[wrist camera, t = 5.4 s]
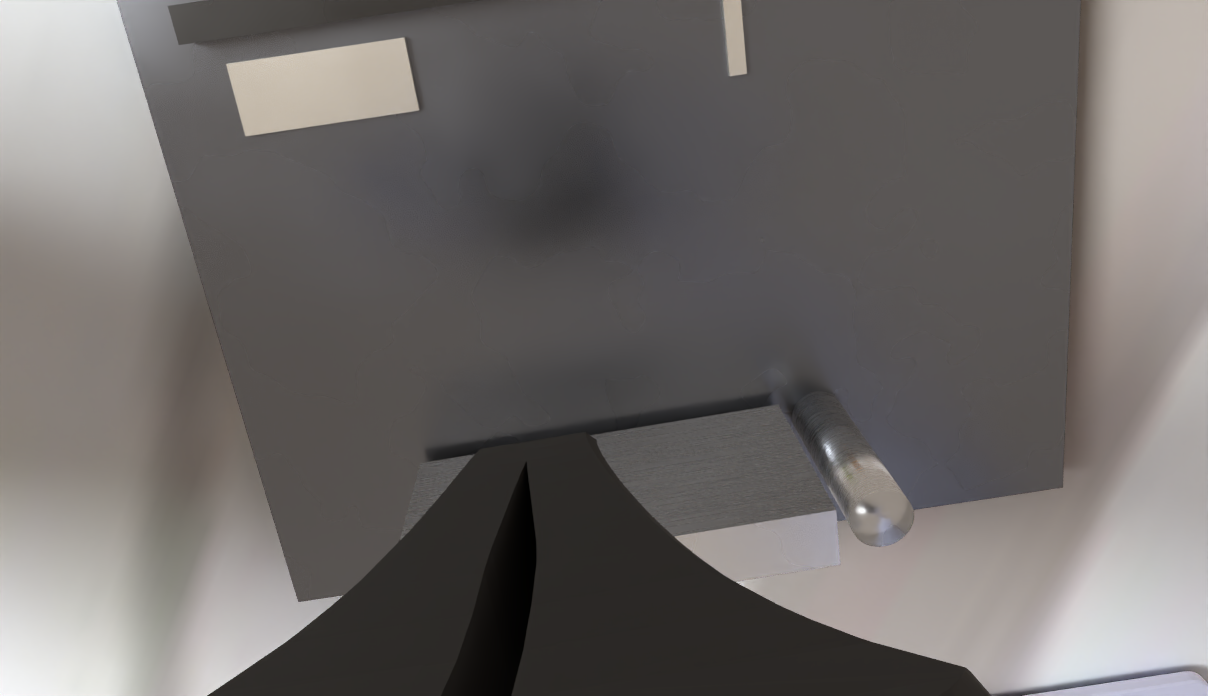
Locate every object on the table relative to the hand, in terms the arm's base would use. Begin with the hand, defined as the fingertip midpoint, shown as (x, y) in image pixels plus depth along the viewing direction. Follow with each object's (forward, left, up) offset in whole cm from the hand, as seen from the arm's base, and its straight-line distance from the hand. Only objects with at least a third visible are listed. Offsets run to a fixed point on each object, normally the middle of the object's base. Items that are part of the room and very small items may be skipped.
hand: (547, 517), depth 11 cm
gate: (-3, -1, -7) cm, 8 cm away
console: (+3, -2, -8) cm, 9 cm away
